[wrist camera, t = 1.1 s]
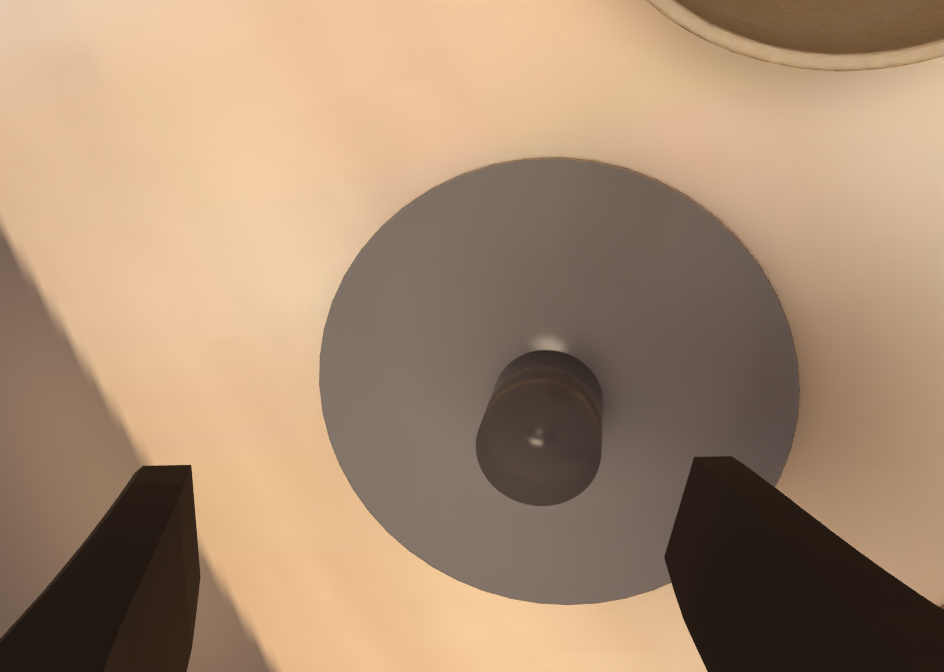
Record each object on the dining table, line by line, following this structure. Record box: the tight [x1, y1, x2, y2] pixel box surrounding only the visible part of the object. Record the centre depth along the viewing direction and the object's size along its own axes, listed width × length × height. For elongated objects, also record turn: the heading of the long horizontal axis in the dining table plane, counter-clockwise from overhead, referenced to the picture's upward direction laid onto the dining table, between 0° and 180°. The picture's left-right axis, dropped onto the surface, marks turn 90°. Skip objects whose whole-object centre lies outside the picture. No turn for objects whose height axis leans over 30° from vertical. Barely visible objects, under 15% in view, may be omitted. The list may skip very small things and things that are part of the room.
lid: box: [319, 158, 799, 605], centre depth 21 cm, size 13×13×4 cm
